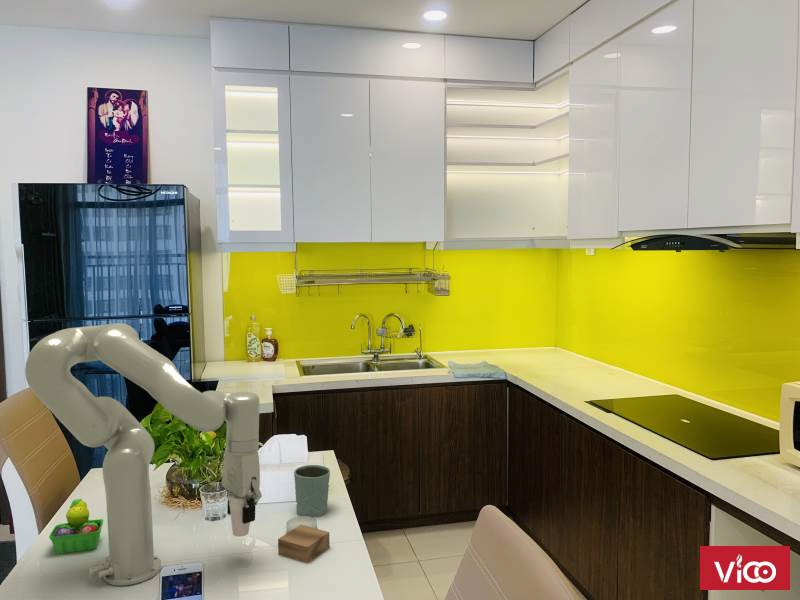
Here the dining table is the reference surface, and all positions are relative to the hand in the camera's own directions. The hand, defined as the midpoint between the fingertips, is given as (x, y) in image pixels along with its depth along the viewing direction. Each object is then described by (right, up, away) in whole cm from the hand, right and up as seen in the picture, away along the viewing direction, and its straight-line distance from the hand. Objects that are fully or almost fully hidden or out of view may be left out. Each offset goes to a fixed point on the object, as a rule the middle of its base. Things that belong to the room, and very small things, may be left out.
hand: (241, 516), depth 154 cm
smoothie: (0, -4, 0) cm, 4 cm away
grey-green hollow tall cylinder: (+13, -8, +28) cm, 32 cm away
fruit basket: (-44, -11, +8) cm, 46 cm away
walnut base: (+14, -10, +5) cm, 18 cm away
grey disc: (+12, -9, +15) cm, 22 cm away
